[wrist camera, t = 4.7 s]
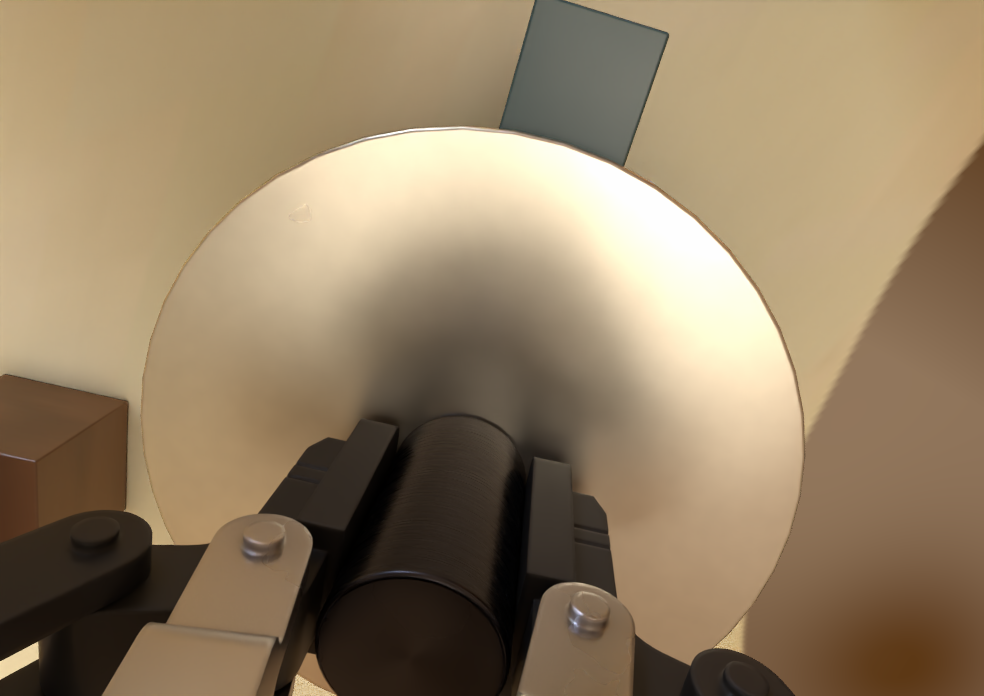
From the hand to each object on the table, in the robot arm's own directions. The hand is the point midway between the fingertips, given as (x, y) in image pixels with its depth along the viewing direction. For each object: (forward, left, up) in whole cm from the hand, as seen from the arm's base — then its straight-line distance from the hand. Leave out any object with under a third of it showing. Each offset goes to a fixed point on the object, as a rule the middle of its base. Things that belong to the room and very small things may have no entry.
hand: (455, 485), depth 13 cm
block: (-11, -12, -9) cm, 19 cm away
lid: (0, 0, -1) cm, 1 cm away
